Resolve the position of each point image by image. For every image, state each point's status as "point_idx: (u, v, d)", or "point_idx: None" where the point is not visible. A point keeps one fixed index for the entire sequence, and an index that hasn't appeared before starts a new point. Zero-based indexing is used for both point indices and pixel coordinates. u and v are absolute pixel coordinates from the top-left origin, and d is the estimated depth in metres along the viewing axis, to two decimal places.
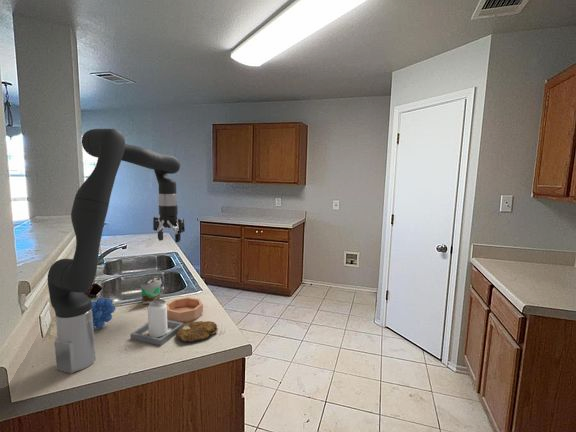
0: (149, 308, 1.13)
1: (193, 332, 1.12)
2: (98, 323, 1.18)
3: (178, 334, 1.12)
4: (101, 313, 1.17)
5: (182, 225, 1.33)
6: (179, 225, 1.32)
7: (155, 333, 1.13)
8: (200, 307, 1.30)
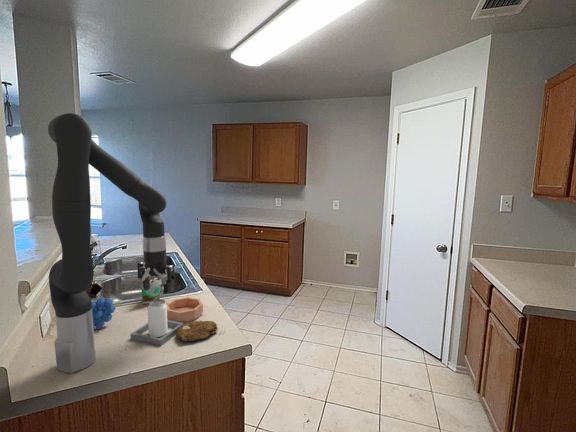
0: (149, 308, 1.13)
1: (193, 332, 1.12)
2: (98, 323, 1.18)
3: (178, 334, 1.12)
4: (101, 313, 1.17)
5: (172, 274, 1.11)
6: (168, 274, 1.10)
7: (155, 333, 1.13)
8: (200, 307, 1.30)
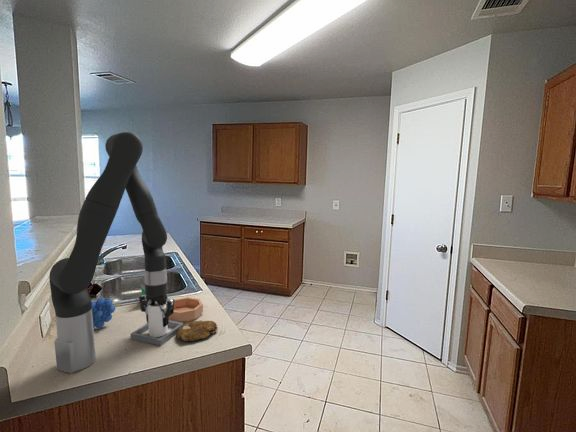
0: (149, 308, 1.13)
1: (193, 332, 1.13)
2: (98, 323, 1.18)
3: (178, 334, 1.12)
4: (101, 313, 1.17)
5: (171, 308, 1.13)
6: (168, 308, 1.12)
7: (155, 333, 1.13)
8: (200, 307, 1.30)
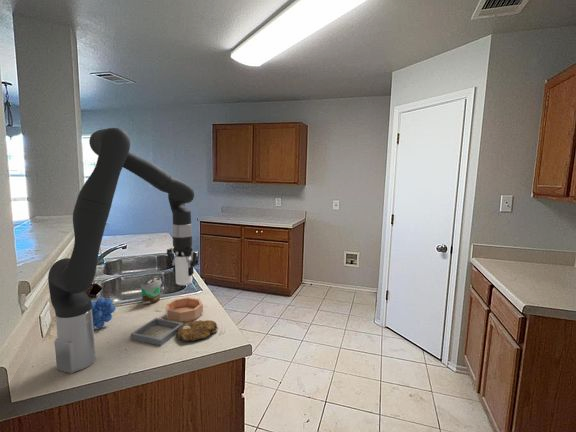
0: (176, 259, 1.26)
1: (194, 331, 1.13)
2: (98, 323, 1.18)
3: (179, 334, 1.12)
4: (101, 313, 1.17)
5: (196, 259, 1.26)
6: (193, 259, 1.25)
7: (182, 281, 1.26)
8: (200, 307, 1.30)
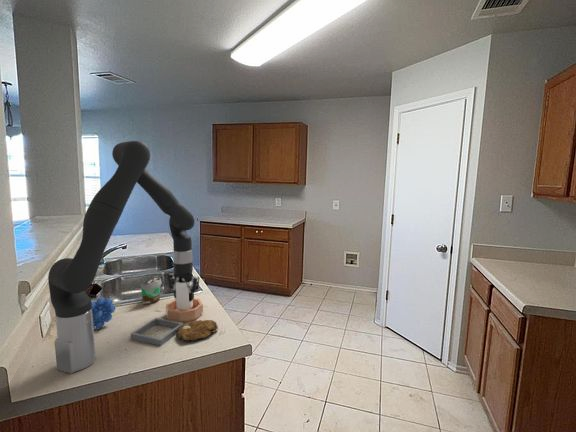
0: (177, 284, 1.27)
1: (194, 331, 1.13)
2: (98, 323, 1.18)
3: (179, 334, 1.12)
4: (101, 313, 1.17)
5: (197, 284, 1.28)
6: (194, 284, 1.27)
7: (182, 307, 1.28)
8: (200, 307, 1.30)
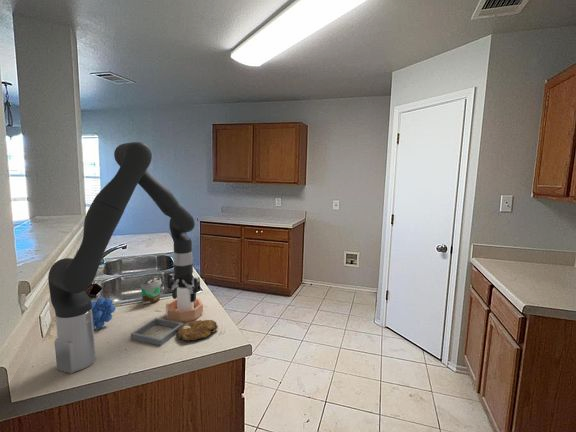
0: (178, 290, 1.27)
1: (195, 331, 1.13)
2: (98, 323, 1.18)
3: (179, 334, 1.12)
4: (101, 313, 1.17)
5: (198, 284, 1.28)
6: (195, 285, 1.27)
7: None
8: (200, 307, 1.30)
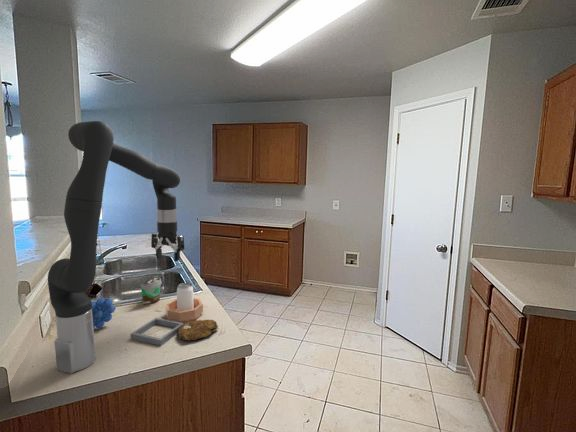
0: (178, 290, 1.27)
1: (195, 331, 1.13)
2: (98, 323, 1.18)
3: (180, 334, 1.12)
4: (101, 313, 1.17)
5: (182, 243, 1.24)
6: (178, 243, 1.24)
7: None
8: (200, 307, 1.30)
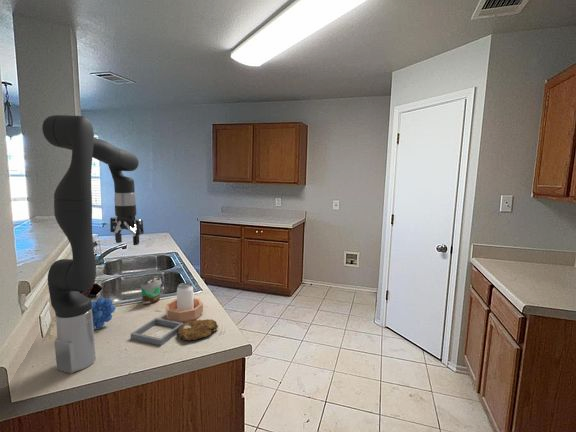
0: (178, 290, 1.27)
1: (195, 330, 1.13)
2: (98, 323, 1.18)
3: (180, 333, 1.12)
4: (101, 313, 1.17)
5: (140, 226, 1.23)
6: (137, 226, 1.23)
7: None
8: (200, 307, 1.30)
